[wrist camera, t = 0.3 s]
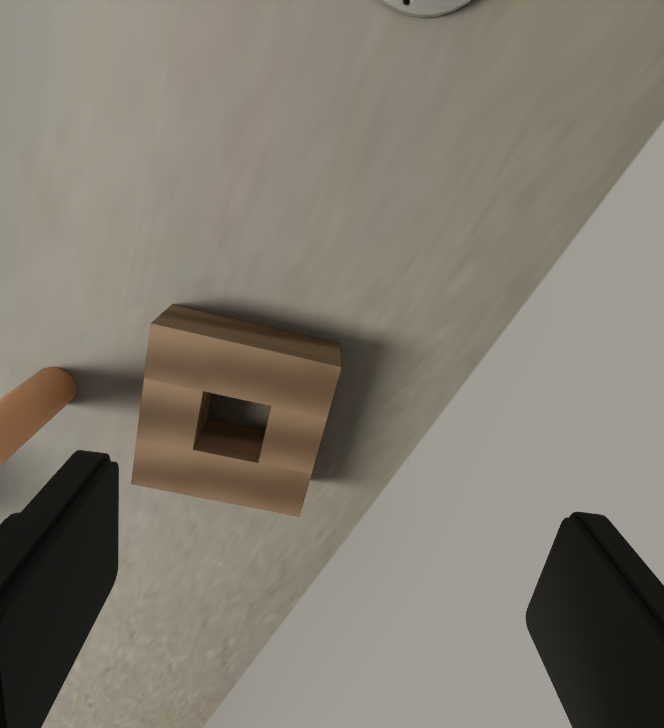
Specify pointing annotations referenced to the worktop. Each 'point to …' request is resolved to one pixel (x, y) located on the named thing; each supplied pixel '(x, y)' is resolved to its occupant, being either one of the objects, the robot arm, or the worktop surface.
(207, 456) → the socket block
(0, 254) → the worktop surface
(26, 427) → the peg
